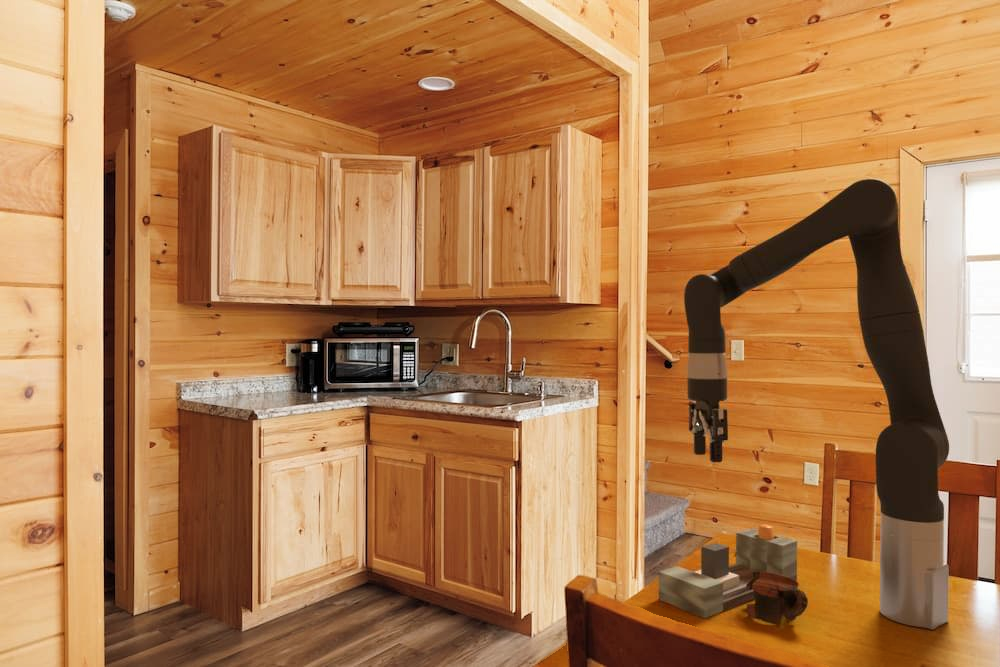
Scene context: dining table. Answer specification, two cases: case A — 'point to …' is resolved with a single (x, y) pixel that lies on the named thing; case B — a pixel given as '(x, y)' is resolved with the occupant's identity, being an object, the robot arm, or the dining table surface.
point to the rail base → (750, 557)
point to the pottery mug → (775, 598)
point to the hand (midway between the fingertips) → (707, 458)
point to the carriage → (717, 565)
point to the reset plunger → (766, 532)
